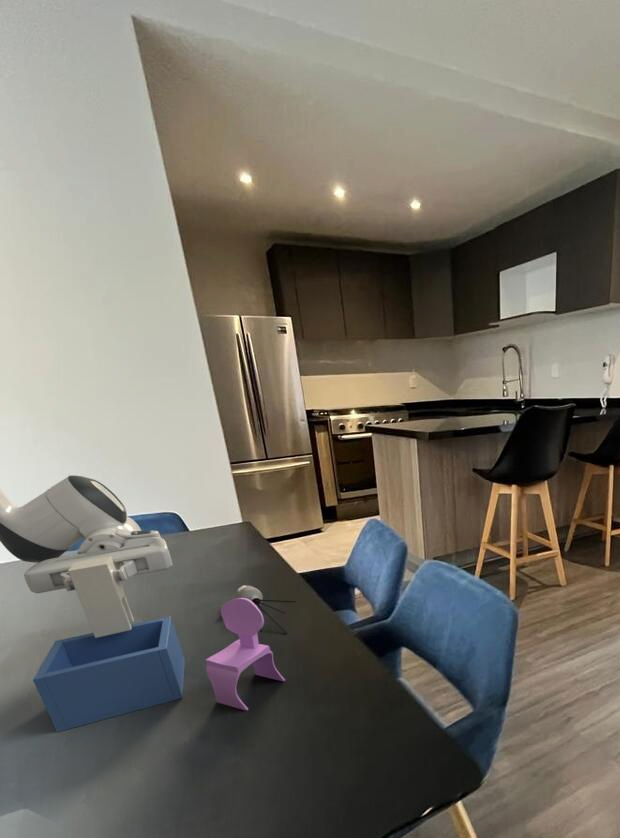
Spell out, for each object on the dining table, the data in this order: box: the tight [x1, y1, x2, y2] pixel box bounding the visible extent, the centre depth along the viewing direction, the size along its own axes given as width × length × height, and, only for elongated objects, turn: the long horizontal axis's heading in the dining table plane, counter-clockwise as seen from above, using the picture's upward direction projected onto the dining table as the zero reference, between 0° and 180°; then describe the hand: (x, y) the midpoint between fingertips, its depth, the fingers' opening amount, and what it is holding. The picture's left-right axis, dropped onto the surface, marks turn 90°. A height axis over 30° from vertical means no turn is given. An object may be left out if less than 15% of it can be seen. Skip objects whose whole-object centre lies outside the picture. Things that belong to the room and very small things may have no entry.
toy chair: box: [205, 598, 286, 712], centre depth 74 cm, size 8×9×15 cm
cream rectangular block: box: [68, 556, 135, 638], centre depth 78 cm, size 5×4×12 cm
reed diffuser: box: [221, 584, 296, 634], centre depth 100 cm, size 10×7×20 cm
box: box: [32, 615, 186, 733], centre depth 77 cm, size 16×12×9 cm
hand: (95, 581), depth 76 cm, fingers closed on cream rectangular block, 5 cm apart
